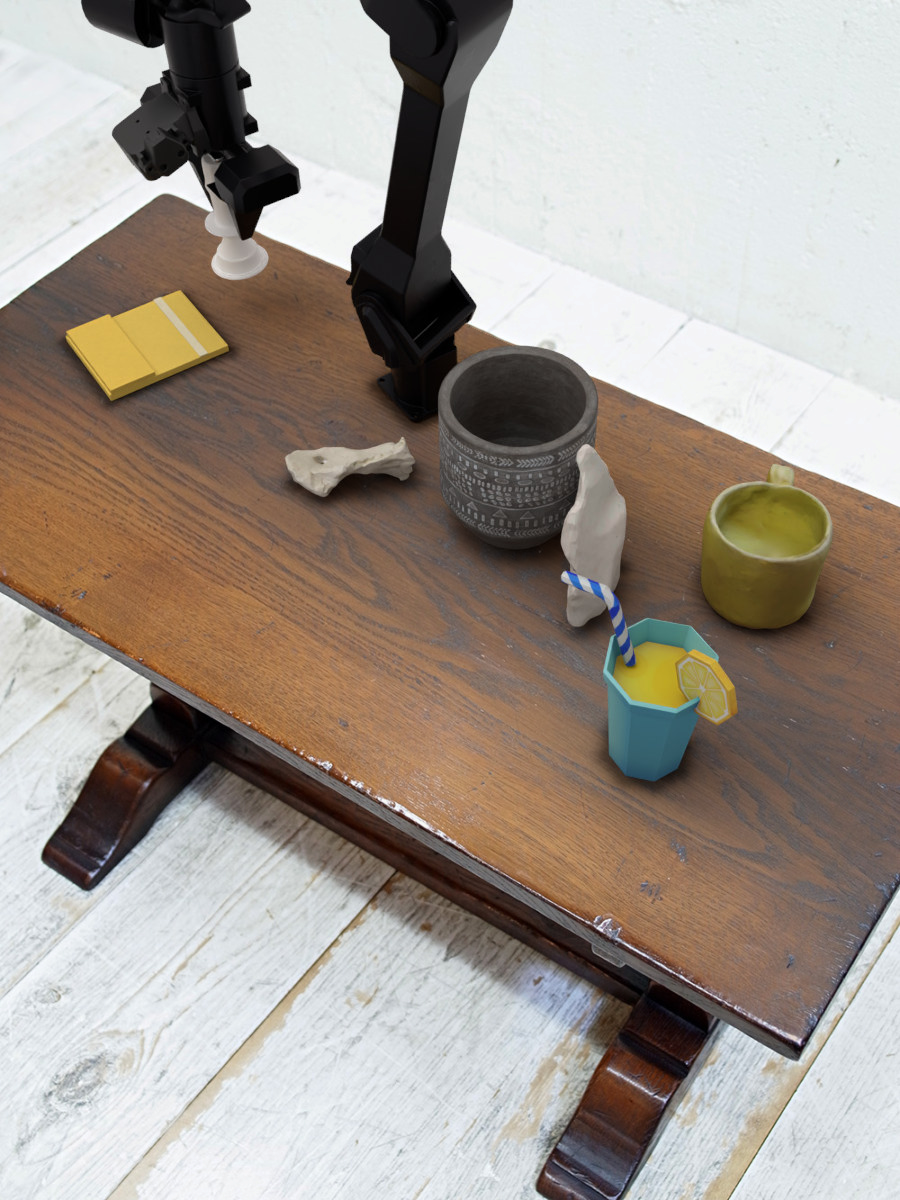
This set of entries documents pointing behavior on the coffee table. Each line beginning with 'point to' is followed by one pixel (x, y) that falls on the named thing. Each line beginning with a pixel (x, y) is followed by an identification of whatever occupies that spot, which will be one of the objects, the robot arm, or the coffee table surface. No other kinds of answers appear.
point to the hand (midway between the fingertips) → (233, 224)
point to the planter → (514, 442)
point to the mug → (764, 551)
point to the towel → (145, 344)
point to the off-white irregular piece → (347, 464)
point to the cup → (656, 688)
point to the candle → (230, 237)
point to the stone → (593, 535)
